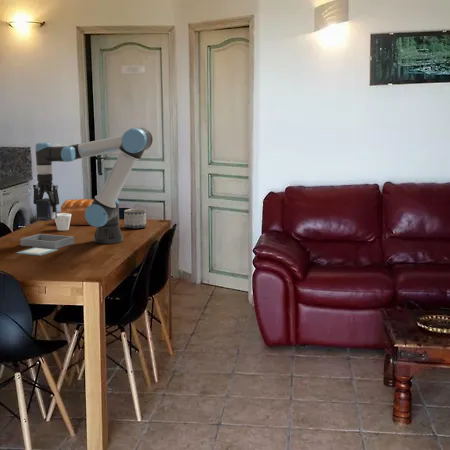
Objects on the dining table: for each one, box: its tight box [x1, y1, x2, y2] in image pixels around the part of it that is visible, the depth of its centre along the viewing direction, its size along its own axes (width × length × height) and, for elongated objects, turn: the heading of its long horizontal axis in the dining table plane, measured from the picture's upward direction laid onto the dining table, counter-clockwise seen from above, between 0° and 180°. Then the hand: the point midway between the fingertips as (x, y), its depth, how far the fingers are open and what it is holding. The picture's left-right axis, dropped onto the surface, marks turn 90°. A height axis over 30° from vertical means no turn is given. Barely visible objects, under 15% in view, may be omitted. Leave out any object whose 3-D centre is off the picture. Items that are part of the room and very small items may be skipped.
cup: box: [54, 212, 71, 232], centre depth 380 cm, size 10×10×9 cm
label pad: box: [16, 247, 59, 257], centre depth 321 cm, size 14×14×1 cm
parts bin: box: [19, 233, 75, 249], centre depth 339 cm, size 22×16×4 cm
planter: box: [123, 208, 147, 230], centre depth 389 cm, size 13×13×10 cm
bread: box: [60, 198, 94, 226], centre depth 402 cm, size 14×26×16 cm, turn 87°
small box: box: [35, 197, 58, 222], centre depth 336 cm, size 11×6×10 cm, turn 168°
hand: (47, 218), depth 337 cm, fingers closed on small box, 7 cm apart
